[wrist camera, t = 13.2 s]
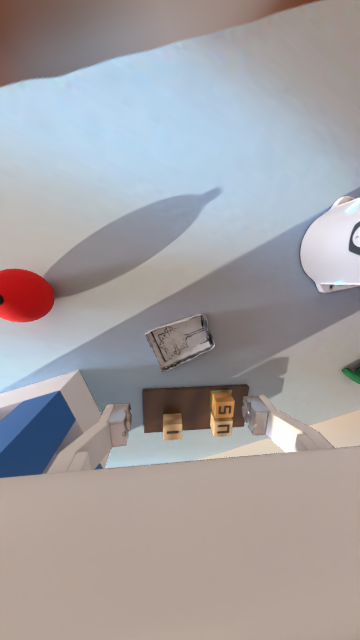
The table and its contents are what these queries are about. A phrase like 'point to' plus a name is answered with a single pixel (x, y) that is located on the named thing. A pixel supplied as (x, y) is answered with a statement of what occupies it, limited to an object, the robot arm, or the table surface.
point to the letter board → (190, 410)
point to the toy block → (44, 423)
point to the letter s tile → (222, 405)
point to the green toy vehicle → (353, 374)
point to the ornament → (24, 295)
